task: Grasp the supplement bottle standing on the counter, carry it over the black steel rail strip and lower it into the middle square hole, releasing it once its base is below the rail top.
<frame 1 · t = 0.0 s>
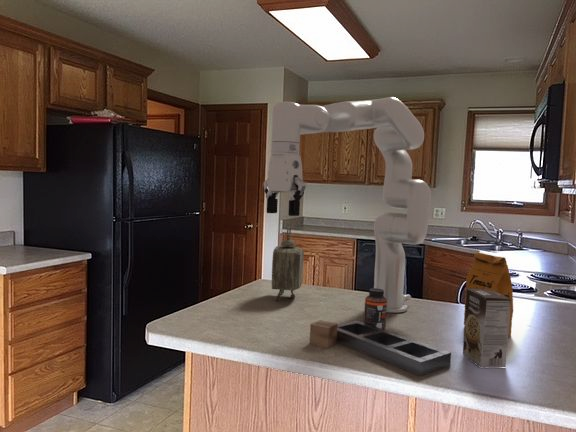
hand: (282, 214, 126), 31 cm above the counter, tool pointing down, fingers open, 9 cm apart
coffee box: (483, 361, 110), on the counter
tabletop clock: (287, 298, 164), on the counter
rail: (384, 350, 114), on the counter
supplement bottle: (374, 330, 131), on the counter
coffee package: (487, 332, 133), on the counter
walnut block: (323, 343, 118), on the counter
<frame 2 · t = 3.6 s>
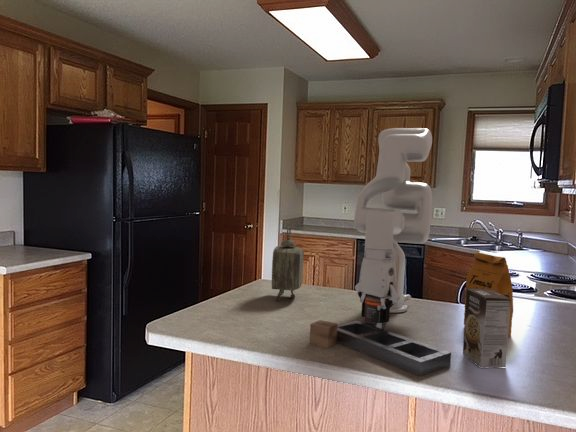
hand: (374, 318, 131), 3 cm above the counter, tool pointing down, fingers closed on supplement bottle, 6 cm apart
supplement bottle: (374, 330, 131), on the counter, touching gripper
everything else where it was.
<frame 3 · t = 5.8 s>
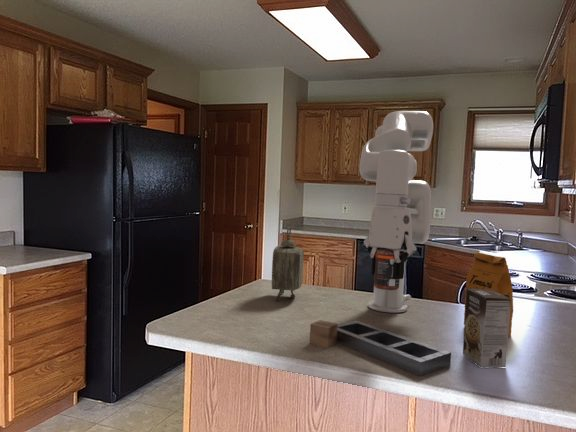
hand: (387, 275, 114), 18 cm above the counter, tool pointing down, fingers closed on supplement bottle, 6 cm apart
supplement bottle: (386, 289, 114), point 15 cm above the counter, touching gripper
everything else where it was.
when the fingers open (5 cm above the counter, at t = 8.0 s): supplement bottle drops 2 cm, resting in rail.
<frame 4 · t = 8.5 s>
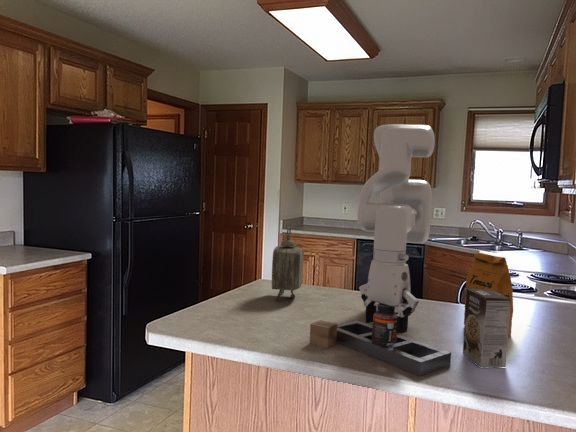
hand: (385, 327, 114), 6 cm above the counter, tool pointing down, fingers open, 9 cm apart
supplement bottle: (383, 351, 114), resting in rail
everything else where it was.
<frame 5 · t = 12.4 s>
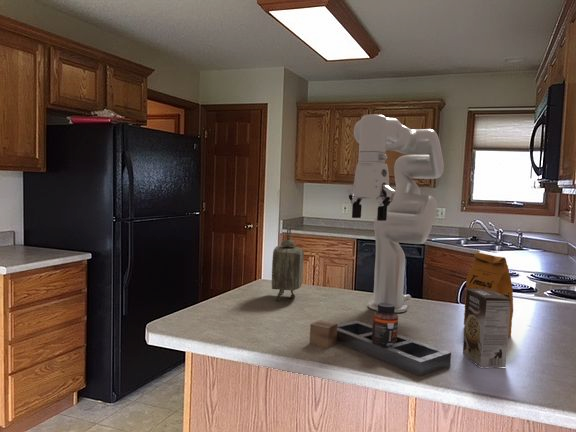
hand: (368, 219, 135), 30 cm above the counter, tool pointing down, fingers open, 9 cm apart
nothing on the counter moved.
at the end: supplement bottle 0.2 cm off-centre on the rail, point 0.0 cm above the rail's base; supplement bottle tilted 0°; the gripper is holding nothing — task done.
